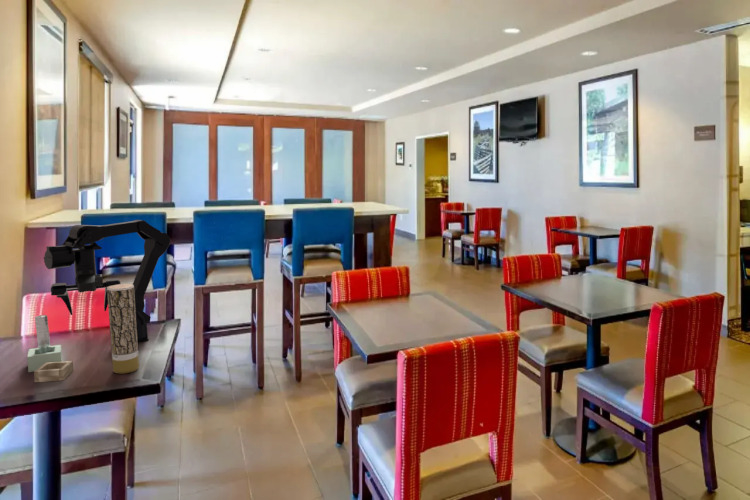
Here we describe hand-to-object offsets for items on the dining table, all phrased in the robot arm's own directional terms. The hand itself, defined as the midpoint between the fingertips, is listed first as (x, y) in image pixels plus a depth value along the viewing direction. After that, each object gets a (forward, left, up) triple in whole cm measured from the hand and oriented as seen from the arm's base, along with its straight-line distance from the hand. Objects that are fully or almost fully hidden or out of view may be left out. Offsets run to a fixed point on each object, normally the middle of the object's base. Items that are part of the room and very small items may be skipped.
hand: (88, 312), depth 152 cm
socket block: (+12, +6, -13) cm, 19 cm away
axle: (+12, +6, -12) cm, 18 cm away
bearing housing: (+9, +17, -13) cm, 24 cm away
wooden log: (-8, +23, -13) cm, 28 cm away
